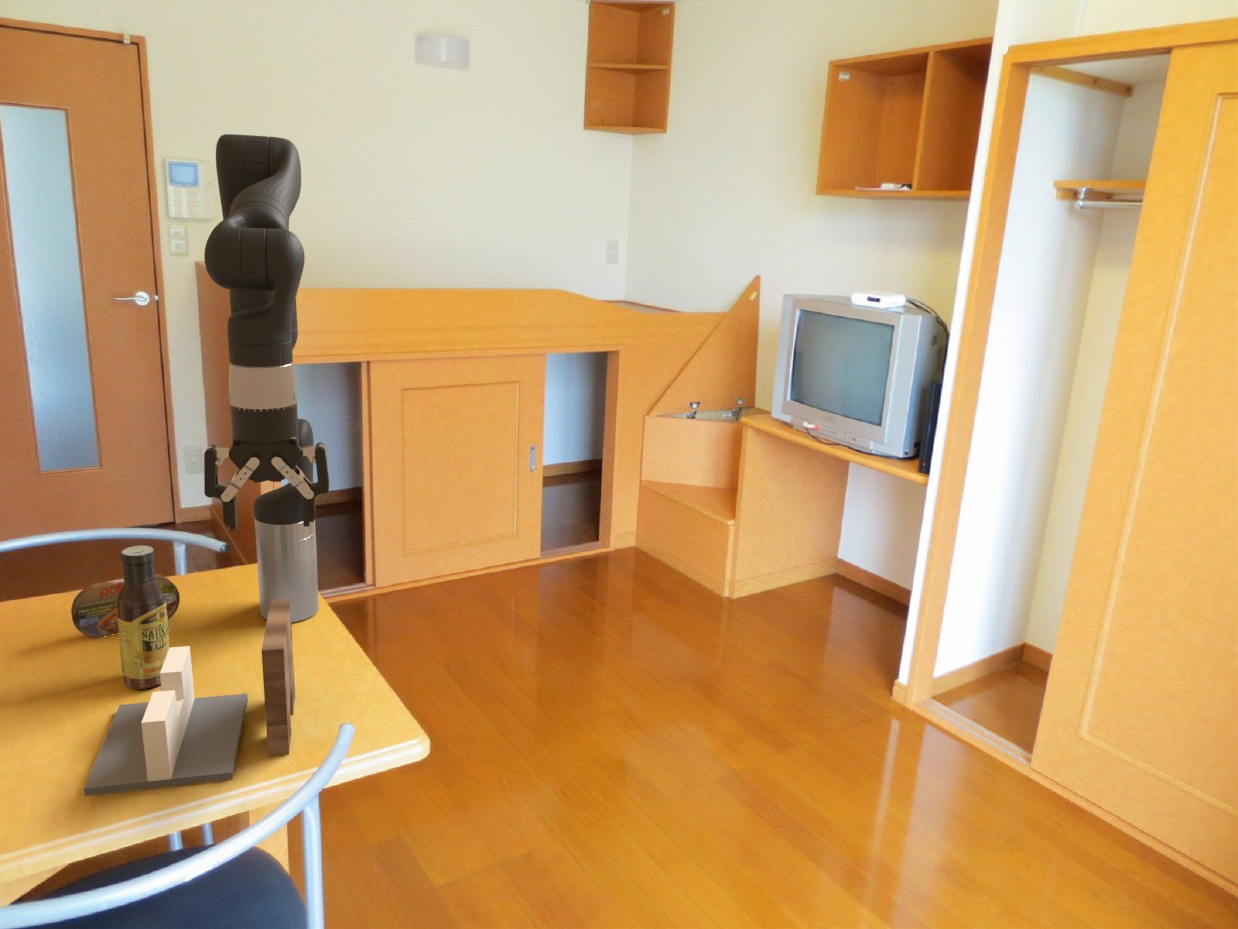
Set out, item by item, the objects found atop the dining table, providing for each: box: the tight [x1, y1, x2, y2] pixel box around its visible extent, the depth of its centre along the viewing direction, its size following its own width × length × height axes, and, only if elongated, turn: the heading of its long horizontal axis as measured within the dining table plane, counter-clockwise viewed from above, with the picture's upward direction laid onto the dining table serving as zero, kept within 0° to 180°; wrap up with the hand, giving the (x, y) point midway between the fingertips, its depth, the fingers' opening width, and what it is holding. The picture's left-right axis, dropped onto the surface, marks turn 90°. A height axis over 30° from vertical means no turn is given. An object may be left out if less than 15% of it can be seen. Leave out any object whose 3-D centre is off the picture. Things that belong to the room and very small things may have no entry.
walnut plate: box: [261, 599, 296, 757], centre depth 120 cm, size 14×2×15 cm, turn 16°
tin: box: [70, 573, 181, 639], centre depth 143 cm, size 15×3×8 cm, turn 126°
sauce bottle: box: [117, 545, 171, 690], centre depth 128 cm, size 7×6×20 cm
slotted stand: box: [83, 645, 249, 796], centre depth 115 cm, size 18×16×9 cm
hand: (270, 526), depth 114 cm, fingers open, 8 cm apart
